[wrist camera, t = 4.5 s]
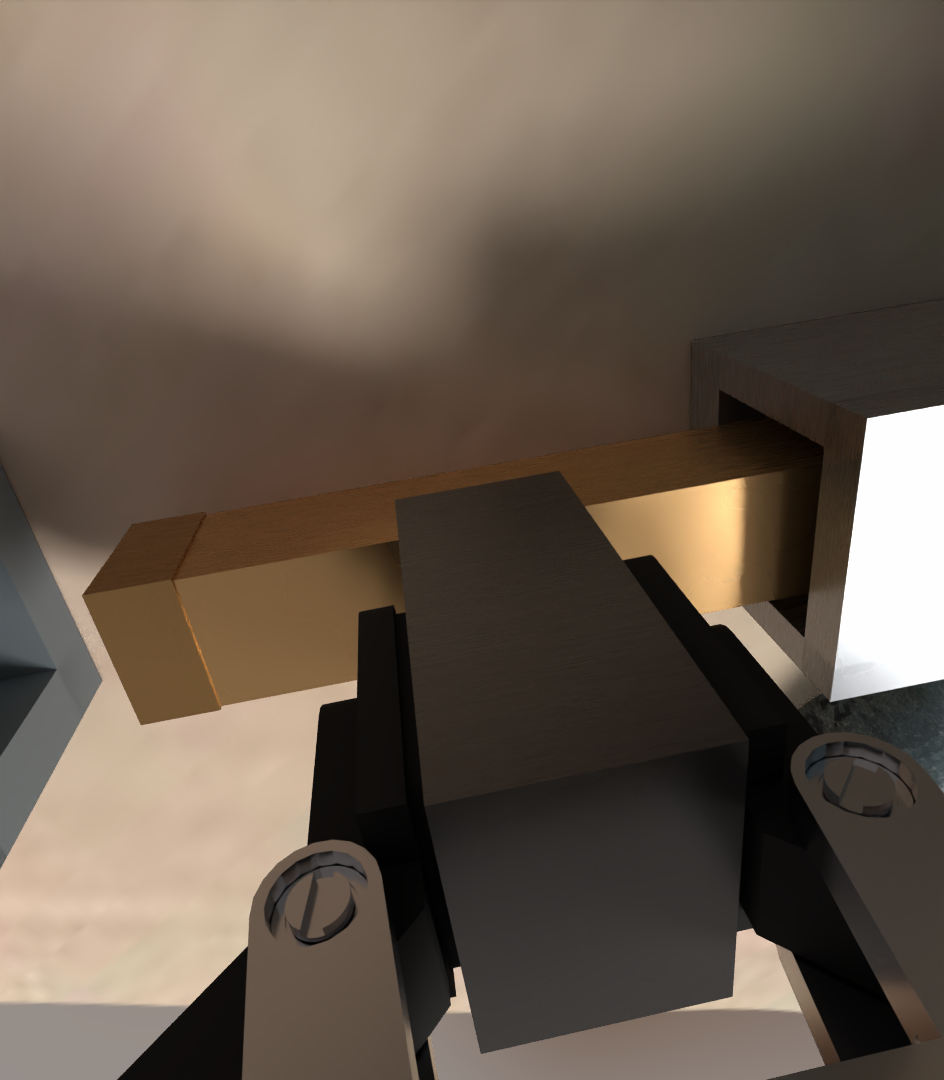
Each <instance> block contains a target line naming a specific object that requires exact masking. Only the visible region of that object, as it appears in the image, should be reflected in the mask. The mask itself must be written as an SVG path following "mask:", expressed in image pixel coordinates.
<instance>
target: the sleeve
mask: <svg viewBox="0 0 944 1080" xmlns="http://www.w3.org/2000/svg"><path fill="white" fill-rule="evenodd" d="M768 416H769V417H771V418H772V419H774V420H776V421H778V422H780V423H782V424H783V425H785V426H787V427H789V428H791V429H792V430H794V431H796V432H798V433H800V434H802V435H803V436H805V437H807V438H809V439H811V440H813V441H814V442H816V443H818V444H820V445H822V446H823V447H824V454H823V464H822V474H821V483H820V493H819V502H818V512H817V522H816V531H815V541H814V550H813V560H812V570H811V579H810V589H809V593H807V594H802V595H797V596H791V597H786V598H781V599H776V600H771V601H765V602H760V603H755V604H750V605H744V606H743V608H744V609H745V610H746V611H747V612H748V613H749V614H750V615H751V616H752V617H753V618H754V620H755V621H756V622H757V623H758V624H759V625H760V626H761V627H762V628H763V629H764V630H765V632H766V633H767V634H768V635H769V636H770V637H771V638H772V639H773V640H774V641H775V642H776V644H777V645H778V646H779V647H780V648H781V649H782V650H783V651H784V652H785V653H786V654H787V655H788V657H789V658H790V659H791V660H792V661H793V662H794V663H795V664H796V665H797V666H798V667H799V669H800V670H801V671H802V672H803V673H804V674H805V675H806V676H807V677H808V678H809V679H810V681H811V682H812V683H813V684H814V685H815V686H816V687H817V688H818V689H819V690H820V691H821V693H822V694H823V695H824V696H825V697H826V698H827V699H828V700H829V701H830V702H833V701H838V700H843V699H848V698H853V697H858V696H863V695H867V694H872V693H877V692H882V691H887V690H892V689H897V688H902V687H907V686H912V685H917V684H922V683H927V682H932V681H937V680H942V679H944V299H938V300H932V301H926V302H920V303H914V304H908V305H902V306H896V307H890V308H884V309H878V310H872V311H866V312H860V313H854V314H848V315H842V316H836V317H830V318H824V319H818V320H812V321H806V322H800V323H794V324H788V325H782V326H776V327H770V328H764V329H757V330H751V331H745V332H739V333H733V334H727V335H721V336H715V337H709V338H703V339H697V340H692V345H691V430H694V429H699V428H705V427H711V426H717V425H722V424H728V423H734V422H739V421H745V420H751V419H757V418H762V417H768Z"/></svg>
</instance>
